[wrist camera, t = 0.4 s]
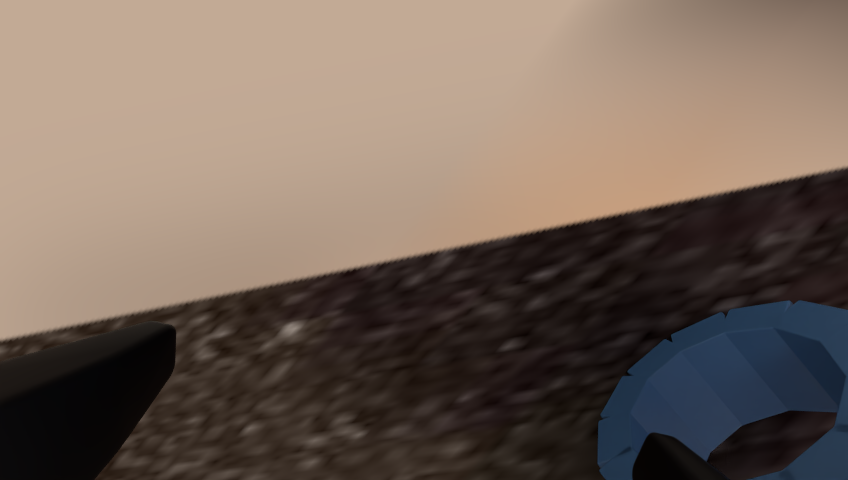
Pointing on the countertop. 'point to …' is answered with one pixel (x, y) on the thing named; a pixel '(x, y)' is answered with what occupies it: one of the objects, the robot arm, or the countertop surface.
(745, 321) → the blue toy wheel
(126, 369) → the robot arm
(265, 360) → the countertop surface
